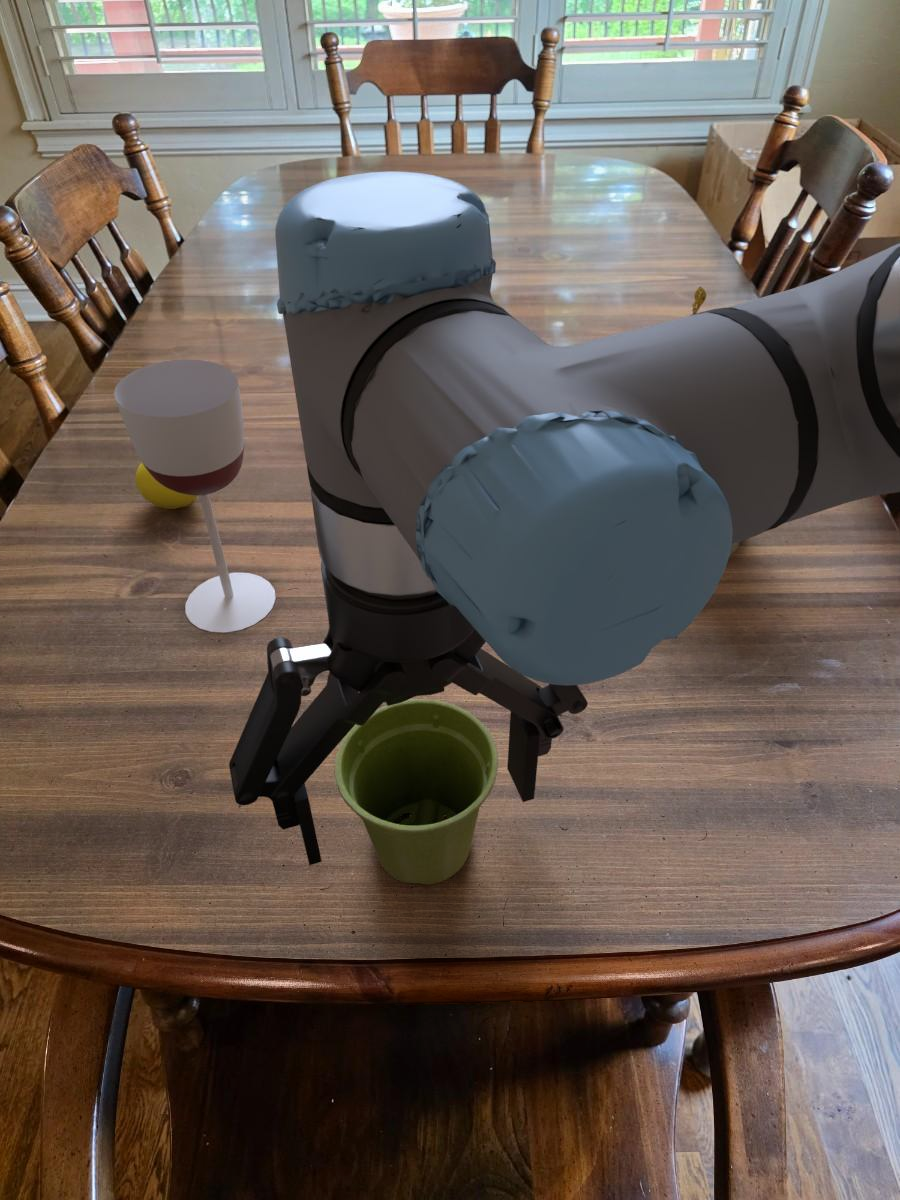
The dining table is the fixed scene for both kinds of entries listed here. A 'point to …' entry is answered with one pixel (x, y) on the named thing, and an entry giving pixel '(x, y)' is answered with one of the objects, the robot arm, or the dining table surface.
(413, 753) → the plant pot
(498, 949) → the dining table surface
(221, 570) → the wineglass
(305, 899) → the dining table surface
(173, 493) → the lemon
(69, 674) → the dining table surface
